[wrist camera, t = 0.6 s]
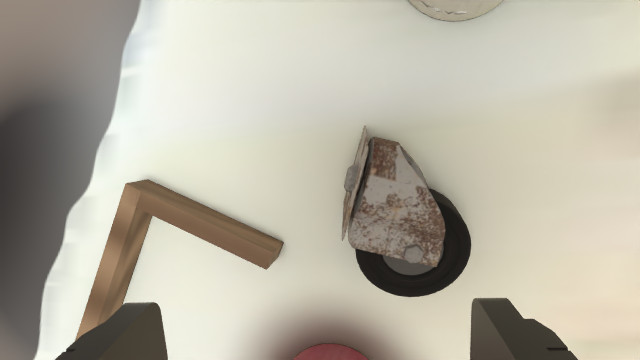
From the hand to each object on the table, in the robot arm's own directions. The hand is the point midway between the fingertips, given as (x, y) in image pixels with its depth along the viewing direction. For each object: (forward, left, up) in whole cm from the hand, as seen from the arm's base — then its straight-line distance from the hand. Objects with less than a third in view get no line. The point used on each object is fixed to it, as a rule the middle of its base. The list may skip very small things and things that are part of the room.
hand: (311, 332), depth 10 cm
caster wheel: (0, +3, -23) cm, 23 cm away
